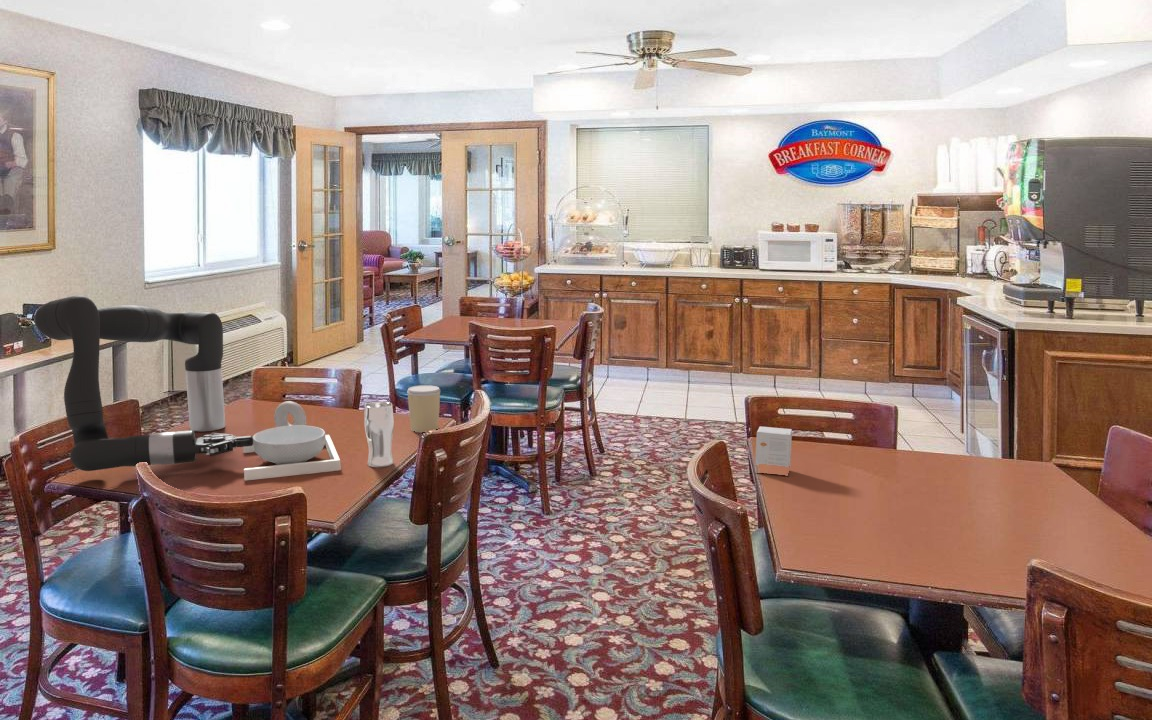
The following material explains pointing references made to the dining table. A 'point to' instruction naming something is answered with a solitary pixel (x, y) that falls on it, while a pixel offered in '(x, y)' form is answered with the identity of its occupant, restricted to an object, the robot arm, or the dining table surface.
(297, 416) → the donut
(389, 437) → the beer glass
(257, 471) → the bowl bay
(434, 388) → the coffee cup
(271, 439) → the cereal bowl
